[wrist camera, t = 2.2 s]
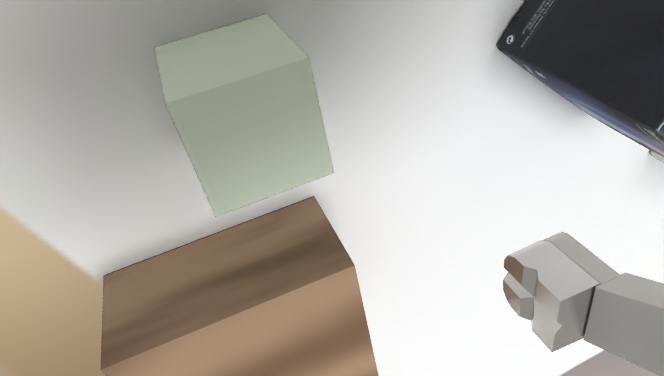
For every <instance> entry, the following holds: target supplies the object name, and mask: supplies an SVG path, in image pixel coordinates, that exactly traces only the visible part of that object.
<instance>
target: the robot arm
mask: <svg viewBox="0 0 664 376" xmlns="http://www.w3.org/2000/svg"><path fill="white" fill-rule="evenodd" d="M504 268H505V269H506V270H507V271H508V274H507V275H506V277H505V278H504V280H503V290H504V293H505V295H506V298H507V300H508V302H509V304H510V305H511V307H512V308H513V309H514V310H515V312H516V313H517V314H518V315H519V316H521V317H523V318H526V319H529V320H531V322H532V331H533V332H534V333H535V334H536V335H537V336H538V337H539V338H540V339H541V340H542V341H543V343H544V344H545V345H546V346H547V347H548V348H549V349H550V350H551V351H552V352H553V351H556V350H558V349H560V348H562V347H564V346H567V345H569V344H571V343H573V342H575V341H578V340H580V339H582V338H584V340H585V341H587V342H589V343H591V344H593V345H596V346H598V347H600V348H602V349H604V350H606V351H608V352H610V353H612V354H615V355H617V356H619V357H621V358H623V359H625V360H627V361H630V362H631V363H634V364H636V365H638V366H640V367H643V368H644V369H646V370H648V371H651V372H653V373H655V374H657V375H659V376H664V284H663V283H660V282H656V281H653V280H649V279H646V278H642V277H639V276H635V275H632V274H628V273H624V274H621V275H620V274H618V273H617V272H616V271H614V270H613V269H612V268H611V267H609V266H608V265H607V264H606V263H604V262H603V261H602V260H601V259H599V258H598V257H597V256H595V255H594V254H593V253H592V252H590V251H589V250H588V249H587V248H585V247H584V246H583V245H582V244H580V243H579V242H578V241H576V240H575V239H574V238H573V237H571V236H570V235H569V234H567V233H564V232H560V233H557V234H555V235H553V236H551V237H549V238H547V239H545V240H541V241H538V242H536V243H534V244H532V245H530V246H527V247H525V248H523V249H521V250H519V251H516V252H514V253H512V254H510V255H508V256H507V257H506V258H505V260H504Z"/></svg>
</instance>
